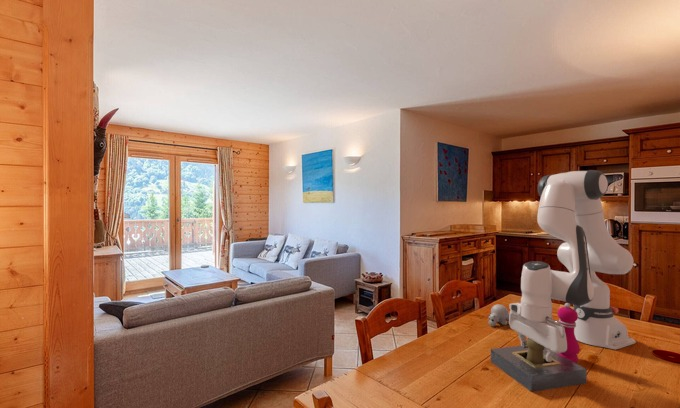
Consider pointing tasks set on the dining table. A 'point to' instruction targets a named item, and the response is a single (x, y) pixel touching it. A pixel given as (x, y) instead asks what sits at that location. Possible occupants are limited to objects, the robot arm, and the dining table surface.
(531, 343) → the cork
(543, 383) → the block
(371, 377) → the dining table surface
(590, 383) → the dining table surface
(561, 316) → the pepper mill
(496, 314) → the round bodied animal figurine
